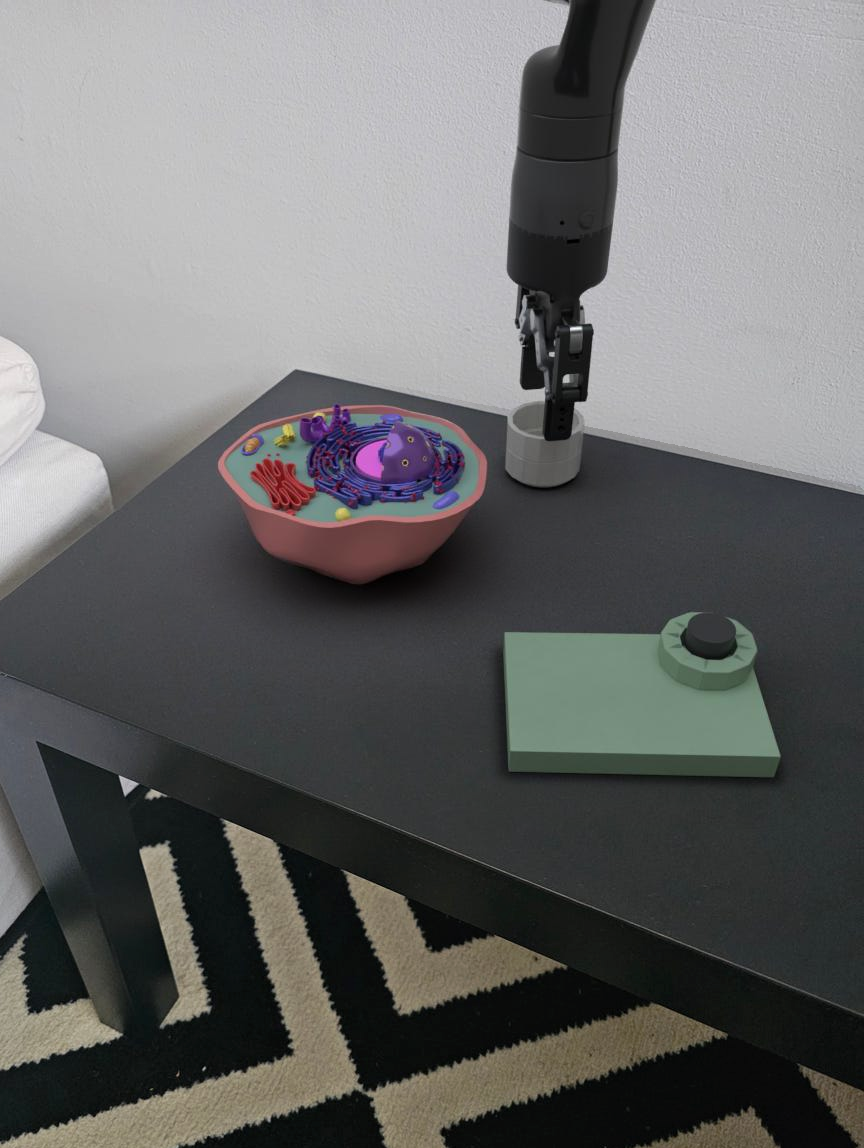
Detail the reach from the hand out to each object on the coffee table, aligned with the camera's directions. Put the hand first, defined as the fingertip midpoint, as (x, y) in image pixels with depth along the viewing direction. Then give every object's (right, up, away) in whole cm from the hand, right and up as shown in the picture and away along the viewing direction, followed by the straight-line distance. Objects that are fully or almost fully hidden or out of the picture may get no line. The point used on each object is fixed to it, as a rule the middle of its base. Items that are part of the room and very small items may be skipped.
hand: (544, 412), depth 86 cm
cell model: (-15, -12, -4) cm, 20 cm away
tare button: (+8, -19, -19) cm, 28 cm away
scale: (+3, -23, -19) cm, 30 cm away
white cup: (0, -4, +3) cm, 6 cm away
